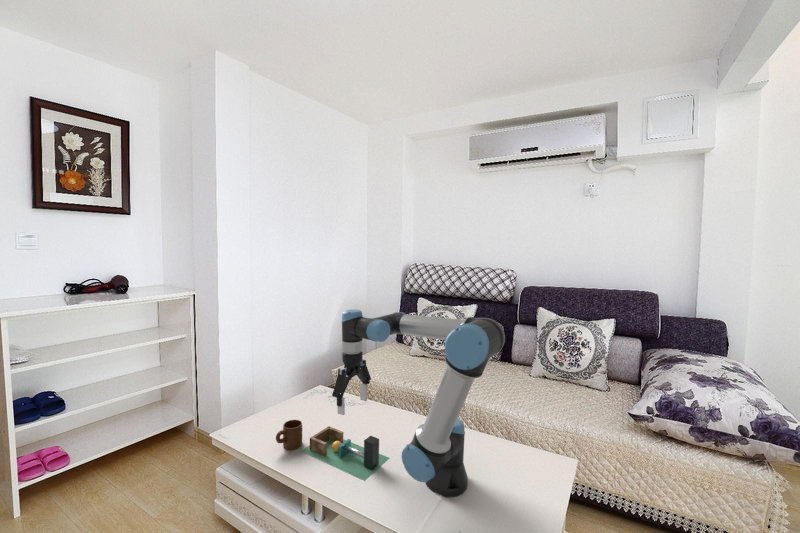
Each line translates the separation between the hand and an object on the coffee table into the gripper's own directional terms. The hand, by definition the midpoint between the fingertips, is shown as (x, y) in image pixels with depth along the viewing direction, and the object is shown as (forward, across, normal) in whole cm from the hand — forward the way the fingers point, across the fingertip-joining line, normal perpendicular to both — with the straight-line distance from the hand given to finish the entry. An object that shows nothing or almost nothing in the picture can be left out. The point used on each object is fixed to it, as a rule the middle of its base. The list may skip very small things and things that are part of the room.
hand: (352, 406), depth 135 cm
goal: (+21, -2, -16) cm, 27 cm away
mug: (+22, +6, -28) cm, 36 cm away
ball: (+19, -2, -10) cm, 22 cm away
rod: (+21, -2, +1) cm, 22 cm away
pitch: (+22, -2, -6) cm, 23 cm away
